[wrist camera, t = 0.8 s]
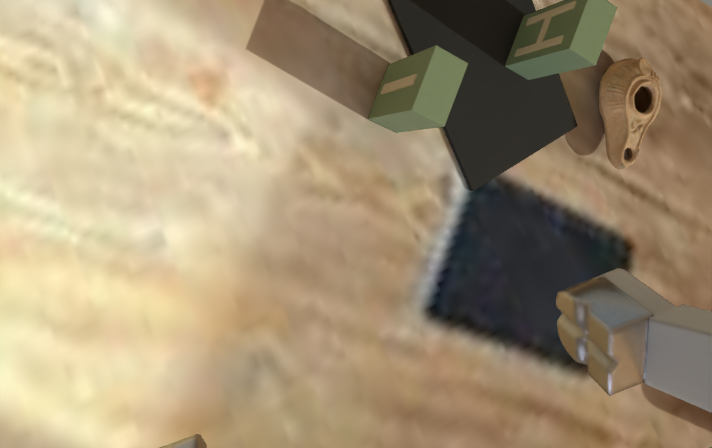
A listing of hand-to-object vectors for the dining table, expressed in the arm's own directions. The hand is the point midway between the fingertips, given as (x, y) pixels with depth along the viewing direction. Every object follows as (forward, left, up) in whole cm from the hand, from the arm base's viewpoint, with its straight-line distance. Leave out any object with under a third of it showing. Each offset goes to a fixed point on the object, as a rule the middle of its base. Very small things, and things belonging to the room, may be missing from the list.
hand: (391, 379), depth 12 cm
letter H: (+1, +39, -42) cm, 57 cm away
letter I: (-1, +22, -42) cm, 48 cm away
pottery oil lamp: (+13, +47, -43) cm, 65 cm away
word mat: (+1, +34, -42) cm, 55 cm away
